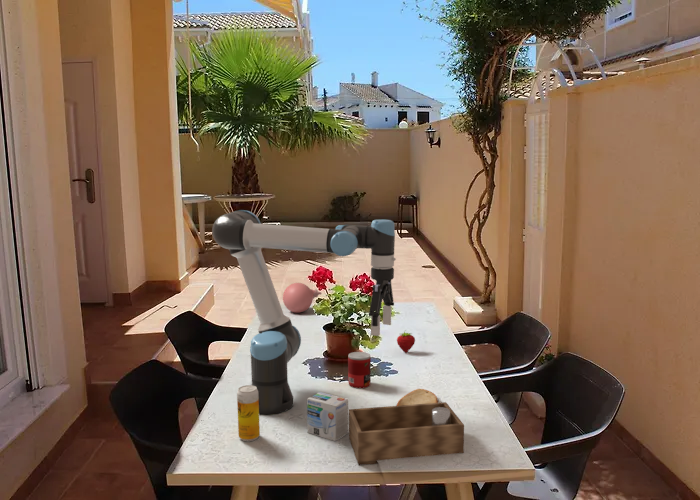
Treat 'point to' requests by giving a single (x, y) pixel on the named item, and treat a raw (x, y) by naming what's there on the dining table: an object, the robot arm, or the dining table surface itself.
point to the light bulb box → (327, 416)
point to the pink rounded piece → (299, 297)
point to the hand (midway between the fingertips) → (381, 329)
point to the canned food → (359, 369)
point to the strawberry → (405, 341)
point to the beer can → (248, 413)
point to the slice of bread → (418, 398)
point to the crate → (402, 433)
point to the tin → (440, 416)
